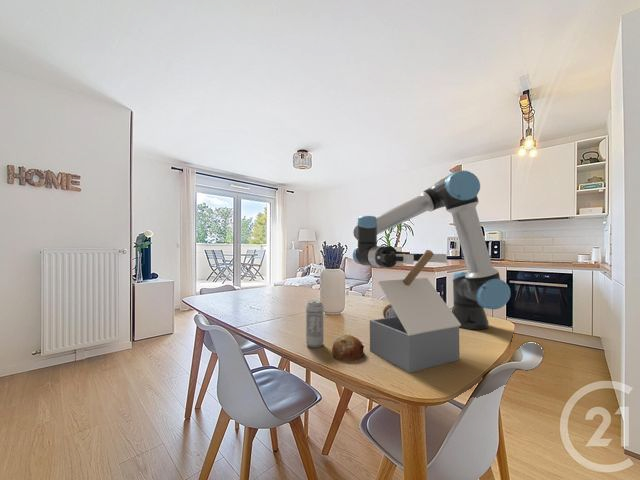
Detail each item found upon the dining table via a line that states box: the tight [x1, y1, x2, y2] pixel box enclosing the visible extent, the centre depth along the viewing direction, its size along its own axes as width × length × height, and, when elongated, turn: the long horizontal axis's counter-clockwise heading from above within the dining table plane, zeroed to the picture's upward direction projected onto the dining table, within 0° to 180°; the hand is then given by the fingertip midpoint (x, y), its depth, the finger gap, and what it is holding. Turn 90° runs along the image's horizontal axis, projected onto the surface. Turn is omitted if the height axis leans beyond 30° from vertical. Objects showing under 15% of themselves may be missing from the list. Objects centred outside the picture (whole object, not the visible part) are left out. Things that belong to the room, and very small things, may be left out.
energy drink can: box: [305, 300, 324, 348], centre depth 98 cm, size 6×6×15 cm
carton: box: [369, 316, 461, 374], centre depth 88 cm, size 20×18×10 cm
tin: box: [382, 303, 397, 318], centre depth 125 cm, size 15×3×8 cm, turn 84°
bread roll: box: [331, 333, 365, 361], centre depth 89 cm, size 10×10×8 cm
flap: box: [377, 249, 461, 336], centre depth 82 cm, size 20×18×15 cm
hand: (430, 258), depth 82 cm, fingers open, 13 cm apart
